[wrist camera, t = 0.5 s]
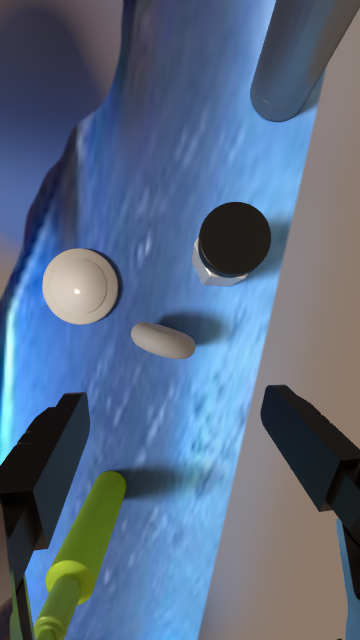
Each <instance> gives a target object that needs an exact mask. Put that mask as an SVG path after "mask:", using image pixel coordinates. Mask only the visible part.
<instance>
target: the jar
mask: <svg viewBox="0 0 360 640" xmlns="http://www.w3.org/2000/svg"><path fill="white" fill-rule="evenodd" d="M270 243H271V232H270V227H269V224H268V222H267V220H266V218H265V217H264V215H263V214H262V213H261V212H260V211H259V210H258V209H256V208H255V207H253V206H251V205H249V204H246V203H242V202H230V203H225V204H223V205H220V206H218V207H217V208H215V209H214V210H213V211H211V212H210V213H209V215H208V216H207V217H206V218H205V220H204V222H203V224H202V226H201V229H200V233H199V237H198V239H197V240H196V242H195V243H194V249H193V257H192V264H193V266H194V268H195V270H196V272H197V274H198V276H199V278H200V280H201V282H202V284H203V285H207V286H223V287H230V286H231V285H233V284H235V283H237V282H239V281H241V280H243V279H244V278H246V276H247V275H248V274H249V272H251V271H253V270H254V269H255V268H256V267H257V266H258V265H259V264H260V263H261V262H262V261H263V260H264V258H265V257H266V255H267V253H268V251H269V248H270Z"/></svg>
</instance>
